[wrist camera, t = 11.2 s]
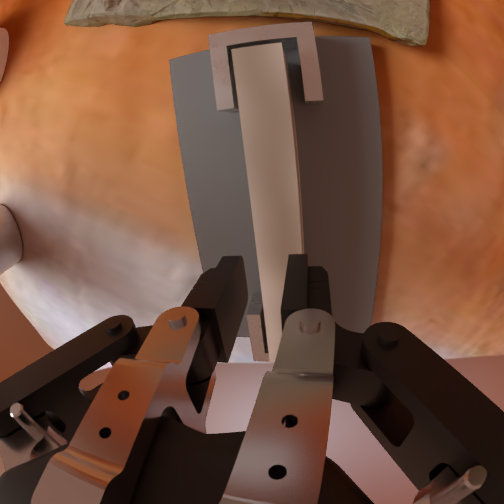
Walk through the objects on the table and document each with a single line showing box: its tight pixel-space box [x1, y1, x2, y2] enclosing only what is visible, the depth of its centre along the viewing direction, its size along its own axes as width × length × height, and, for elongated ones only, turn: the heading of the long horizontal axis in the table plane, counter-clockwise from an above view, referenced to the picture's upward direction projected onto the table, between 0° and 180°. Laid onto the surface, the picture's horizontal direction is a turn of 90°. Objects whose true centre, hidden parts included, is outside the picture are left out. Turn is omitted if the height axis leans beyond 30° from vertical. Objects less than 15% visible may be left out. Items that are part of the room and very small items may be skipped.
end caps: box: [208, 22, 323, 362], centre depth 18 cm, size 6×24×3 cm, turn 6°
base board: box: [169, 36, 383, 337], centre depth 20 cm, size 14×24×2 cm, turn 6°
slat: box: [231, 43, 304, 363], centre depth 17 cm, size 2×20×5 cm, turn 7°
